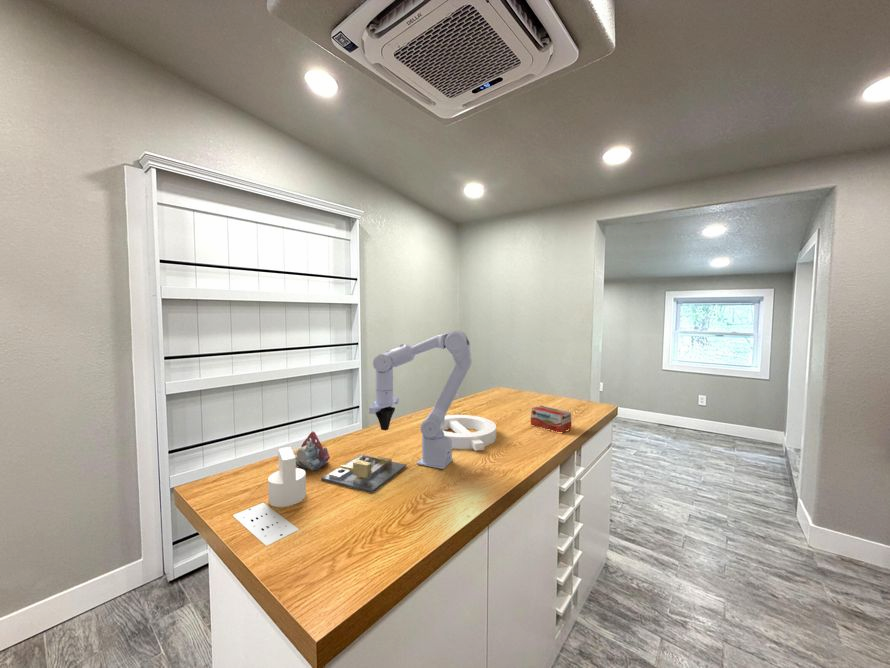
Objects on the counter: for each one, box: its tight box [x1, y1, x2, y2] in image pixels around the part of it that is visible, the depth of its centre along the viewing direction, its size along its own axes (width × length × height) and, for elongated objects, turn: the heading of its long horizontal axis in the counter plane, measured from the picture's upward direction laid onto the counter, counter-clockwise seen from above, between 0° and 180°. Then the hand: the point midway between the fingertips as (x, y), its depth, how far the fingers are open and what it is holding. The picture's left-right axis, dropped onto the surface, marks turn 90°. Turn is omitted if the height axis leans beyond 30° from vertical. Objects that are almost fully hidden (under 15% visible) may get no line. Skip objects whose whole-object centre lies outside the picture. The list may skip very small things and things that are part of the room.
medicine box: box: [530, 405, 572, 433], centre depth 149 cm, size 15×8×8 cm, turn 42°
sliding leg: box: [339, 460, 372, 478], centre depth 100 cm, size 10×2×4 cm, turn 66°
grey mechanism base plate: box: [321, 454, 407, 494], centre depth 105 cm, size 18×18×3 cm
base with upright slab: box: [267, 446, 307, 508], centre depth 91 cm, size 9×9×12 cm
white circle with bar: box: [442, 414, 497, 452], centre depth 139 cm, size 28×28×5 cm
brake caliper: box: [294, 431, 331, 471], centre depth 110 cm, size 11×11×12 cm
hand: (384, 429), depth 116 cm, fingers closed
